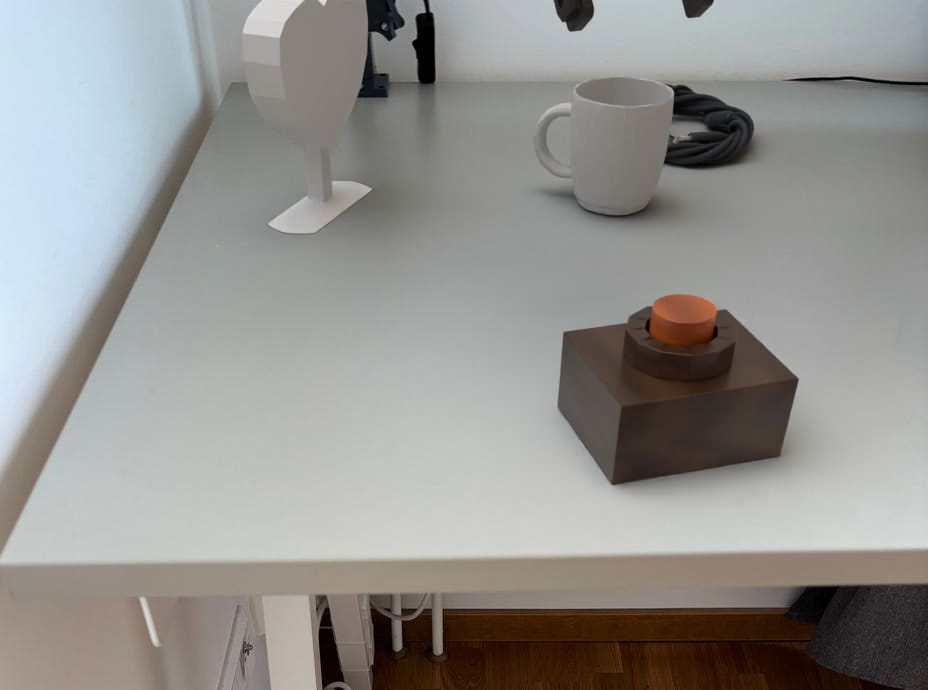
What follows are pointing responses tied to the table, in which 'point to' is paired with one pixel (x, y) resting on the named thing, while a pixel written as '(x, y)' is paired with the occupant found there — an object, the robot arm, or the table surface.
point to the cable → (708, 143)
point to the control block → (673, 398)
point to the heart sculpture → (308, 91)
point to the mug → (612, 141)
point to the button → (683, 320)
